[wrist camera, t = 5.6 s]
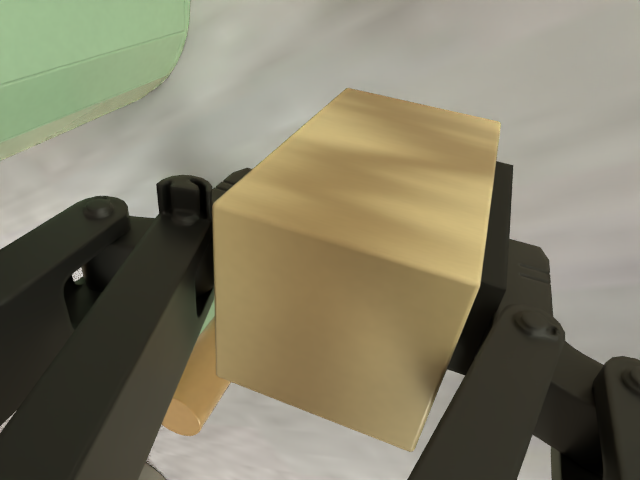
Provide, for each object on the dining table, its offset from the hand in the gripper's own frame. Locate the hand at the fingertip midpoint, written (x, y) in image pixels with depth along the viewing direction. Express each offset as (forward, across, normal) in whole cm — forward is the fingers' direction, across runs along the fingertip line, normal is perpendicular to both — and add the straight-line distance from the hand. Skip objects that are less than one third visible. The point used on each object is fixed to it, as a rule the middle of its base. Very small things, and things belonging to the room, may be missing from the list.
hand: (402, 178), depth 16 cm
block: (0, 0, 0) cm, 0 cm away
